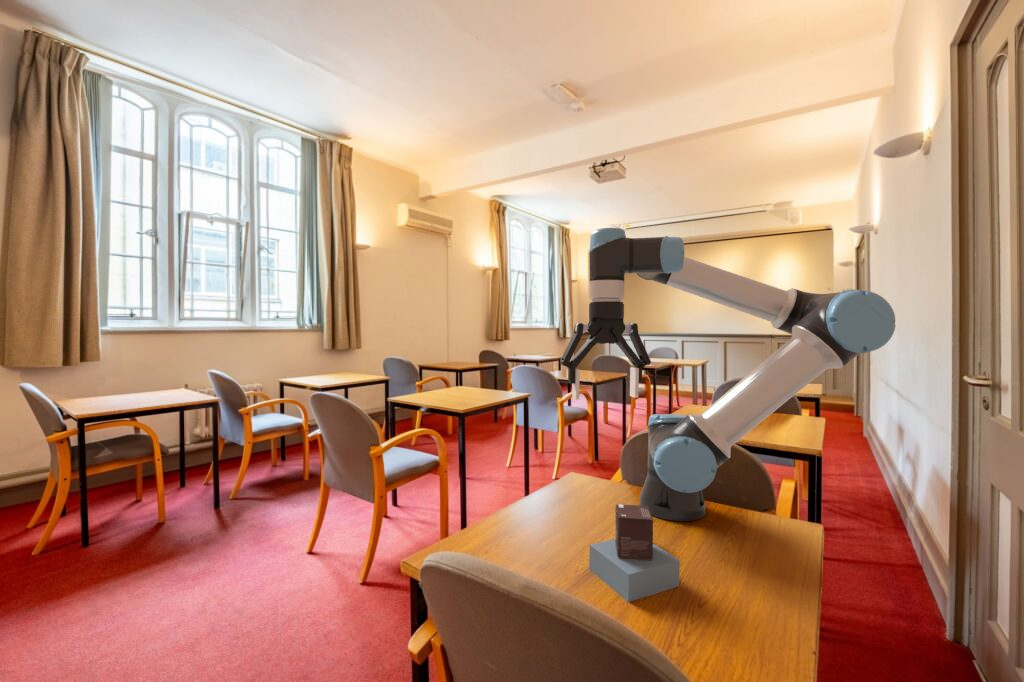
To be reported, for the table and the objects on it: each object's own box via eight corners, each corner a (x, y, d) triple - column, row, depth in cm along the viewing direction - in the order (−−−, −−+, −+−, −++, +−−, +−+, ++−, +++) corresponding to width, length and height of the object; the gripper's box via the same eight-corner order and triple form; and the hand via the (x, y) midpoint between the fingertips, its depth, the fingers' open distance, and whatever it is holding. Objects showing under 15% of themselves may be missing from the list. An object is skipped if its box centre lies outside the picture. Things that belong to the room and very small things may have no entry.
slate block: (636, 558, 91) (637, 533, 90) (679, 588, 81) (679, 560, 80) (589, 571, 86) (589, 544, 86) (628, 604, 76) (628, 574, 76)
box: (653, 561, 80) (653, 519, 79) (617, 558, 81) (617, 517, 80) (648, 544, 86) (648, 505, 86) (614, 542, 87) (615, 503, 86)
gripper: (651, 302, 108) (649, 393, 109) (546, 301, 103) (546, 396, 104) (667, 301, 101) (666, 398, 102) (556, 299, 96) (555, 402, 97)
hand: (605, 397), depth 103 cm, fingers open, 13 cm apart
